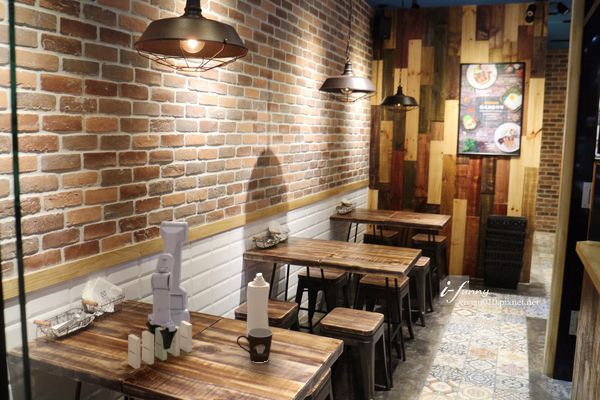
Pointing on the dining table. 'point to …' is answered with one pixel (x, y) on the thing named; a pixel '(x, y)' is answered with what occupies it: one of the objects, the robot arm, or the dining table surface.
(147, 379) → the dining table surface
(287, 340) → the dining table surface
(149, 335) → the domino
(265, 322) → the spray can
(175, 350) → the domino
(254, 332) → the coffee mug
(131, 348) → the domino
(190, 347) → the domino
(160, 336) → the domino
